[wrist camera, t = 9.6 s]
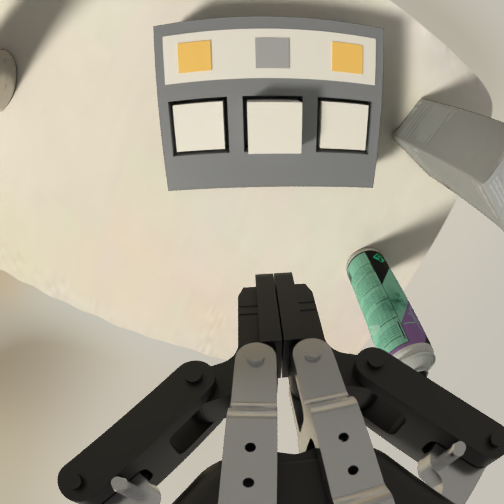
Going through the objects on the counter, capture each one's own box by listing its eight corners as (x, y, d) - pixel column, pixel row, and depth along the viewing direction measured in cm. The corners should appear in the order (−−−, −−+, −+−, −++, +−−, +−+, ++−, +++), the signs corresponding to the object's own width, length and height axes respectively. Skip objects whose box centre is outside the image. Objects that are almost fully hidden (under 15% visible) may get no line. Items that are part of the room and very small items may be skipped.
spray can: (361, 286, 42) (407, 408, 25) (337, 267, 40) (382, 398, 23) (390, 261, 39) (452, 379, 23) (367, 239, 37) (433, 365, 21)
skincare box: (388, 135, 30) (473, 189, 17) (423, 92, 27) (522, 123, 14) (430, 179, 33) (508, 247, 19) (462, 140, 29) (550, 192, 16)
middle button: (248, 145, 27) (248, 154, 24) (247, 99, 25) (247, 102, 22) (296, 145, 27) (301, 153, 24) (296, 99, 25) (302, 102, 22)
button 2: (183, 144, 29) (177, 152, 26) (179, 102, 26) (172, 105, 24) (227, 141, 29) (224, 148, 26) (225, 98, 26) (222, 101, 24)
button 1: (313, 140, 29) (320, 148, 26) (315, 98, 26) (322, 101, 24) (355, 142, 29) (365, 150, 26) (357, 101, 26) (368, 105, 24)
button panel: (178, 173, 33) (167, 191, 28) (167, 32, 24) (152, 26, 19) (357, 171, 32) (373, 188, 28) (364, 33, 24) (384, 28, 19)
